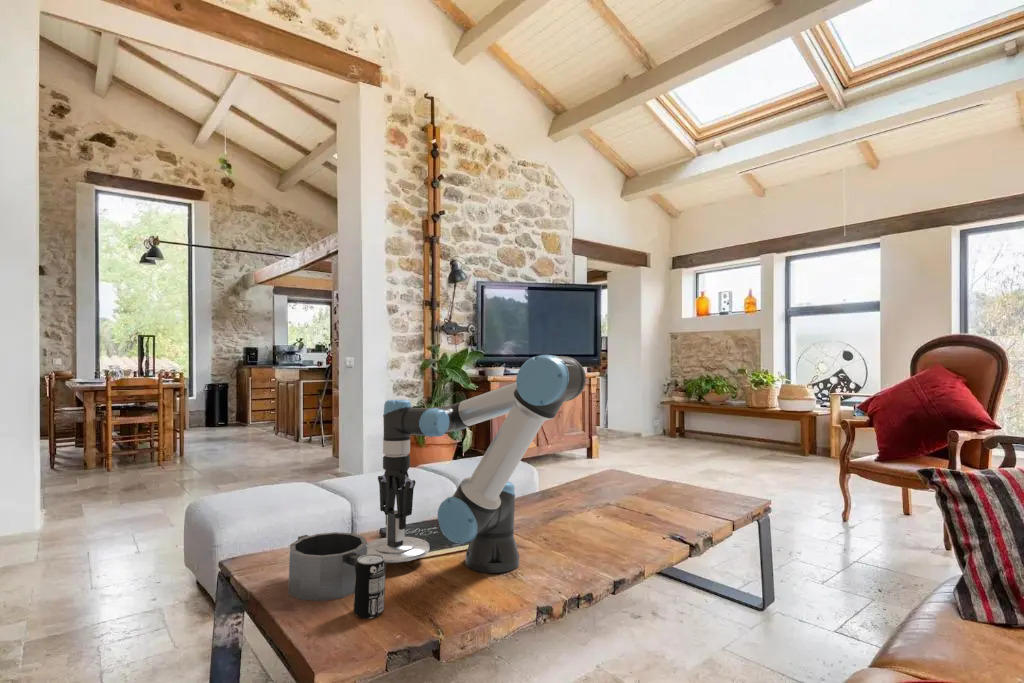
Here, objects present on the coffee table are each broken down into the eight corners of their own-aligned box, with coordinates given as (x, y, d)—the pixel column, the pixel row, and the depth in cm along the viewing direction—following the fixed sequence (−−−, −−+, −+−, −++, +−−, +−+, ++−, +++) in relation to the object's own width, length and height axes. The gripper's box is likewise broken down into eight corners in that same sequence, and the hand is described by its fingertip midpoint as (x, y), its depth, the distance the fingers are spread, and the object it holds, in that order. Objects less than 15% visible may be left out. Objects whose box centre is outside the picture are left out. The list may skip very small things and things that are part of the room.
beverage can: (356, 606, 123) (358, 553, 124) (386, 606, 124) (387, 553, 124) (350, 620, 117) (352, 564, 117) (381, 619, 117) (383, 563, 118)
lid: (443, 548, 154) (443, 510, 154) (392, 568, 138) (392, 526, 139) (397, 536, 165) (398, 500, 165) (345, 553, 149) (346, 514, 150)
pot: (387, 586, 135) (388, 545, 135) (323, 611, 121) (325, 566, 121) (330, 562, 149) (331, 526, 150) (267, 583, 135) (269, 542, 135)
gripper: (426, 455, 151) (425, 541, 150) (388, 450, 161) (386, 530, 159) (405, 459, 145) (404, 548, 144) (367, 453, 155) (366, 537, 153)
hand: (395, 539), depth 152 cm, fingers closed on lid, 3 cm apart
